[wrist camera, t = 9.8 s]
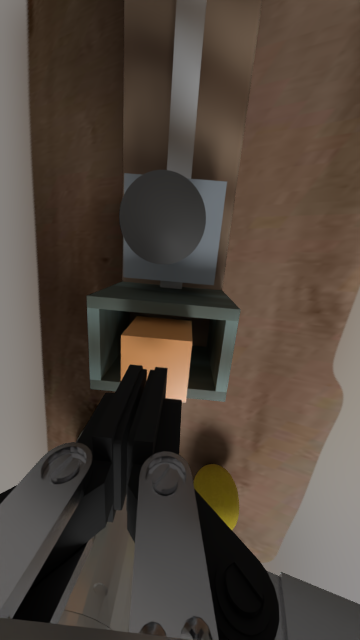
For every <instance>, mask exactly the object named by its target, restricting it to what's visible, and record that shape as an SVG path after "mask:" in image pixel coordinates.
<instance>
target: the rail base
mask: <svg viewBox="0 0 360 640" xmlns="http://www.w3.org/2000/svg"><path fill="white" fill-rule="evenodd" d="M261 7H262V0H124V107H123V196H124V173H129V174H141V175H143V174H145V173H147V172H150V171H154V170H170V171H174V172H177V173H179V174H181V175H183V176H184V177H186V178H188V179H200V180H212V181H224V182H227V186H226V194H225V202H224V210H223V217H222V225H221V233H220V241H219V249H218V256H217V264H216V272H215V280H214V285H205V284H194V283H182V282H171V281H160V280H149V279H137V278H126V277H123V250H124V237H123V241H122V282H120V283H117V284H115V285H112V286H110V287H107V288H105V289H102V290H100V291H97V292H95V293H92V294H90V295H87V318H88V344H89V369H90V389H96V390H107V391H116V390H117V388H118V386H119V384H120V382H121V335H122V333H123V332H124V331H125V330H126V329H127V327H128V326H129V325H130V324H131V323H132V321H133V320H134V319H135V318H136V317H137V316H143V317H154V318H165V319H176V320H187V321H191V322H192V351H191V360H190V369H189V379H188V388H187V397H186V398H192V399H202V400H213V401H224V402H225V398H226V392H227V387H228V381H229V375H230V369H231V363H232V357H233V351H234V345H235V339H236V333H237V327H238V321H239V315H240V309H239V308H238V307H237V306H236V304H235V303H234V302H233V301H232V300H231V299H230V298H229V297H228V296H227V295H226V294H225V293H224V292H223V291H222V287H223V279H224V272H225V265H226V258H227V251H228V244H229V236H230V229H231V222H232V215H233V208H234V201H235V193H236V186H237V179H238V172H239V165H240V158H241V150H242V143H243V136H244V129H245V122H246V114H247V107H248V100H249V93H250V86H251V79H252V71H253V64H254V57H255V50H256V43H257V36H258V28H259V21H260V14H261Z"/></svg>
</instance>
